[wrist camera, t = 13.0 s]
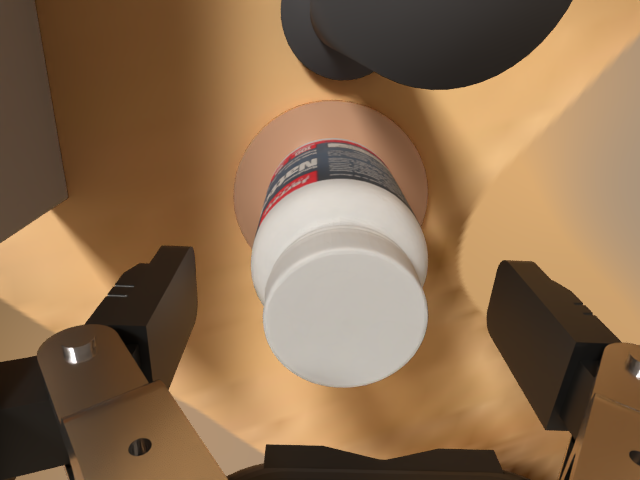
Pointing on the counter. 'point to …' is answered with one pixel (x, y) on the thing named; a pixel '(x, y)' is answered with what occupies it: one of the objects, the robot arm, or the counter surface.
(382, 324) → the pill bottle
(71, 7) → the counter surface
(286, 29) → the post
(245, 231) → the coaster
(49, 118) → the panel
